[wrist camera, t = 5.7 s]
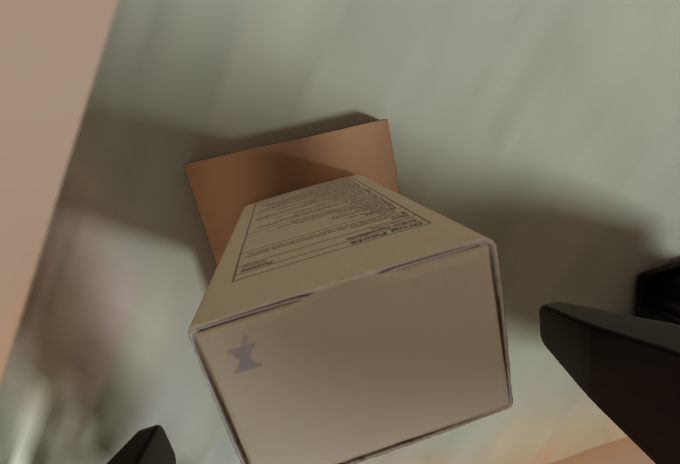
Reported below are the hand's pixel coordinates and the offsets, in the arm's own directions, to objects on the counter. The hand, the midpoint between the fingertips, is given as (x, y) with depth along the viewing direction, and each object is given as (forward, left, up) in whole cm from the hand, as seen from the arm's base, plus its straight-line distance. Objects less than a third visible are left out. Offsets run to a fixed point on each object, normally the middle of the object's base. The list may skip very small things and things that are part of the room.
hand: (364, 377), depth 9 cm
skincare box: (0, 0, -12) cm, 12 cm away
